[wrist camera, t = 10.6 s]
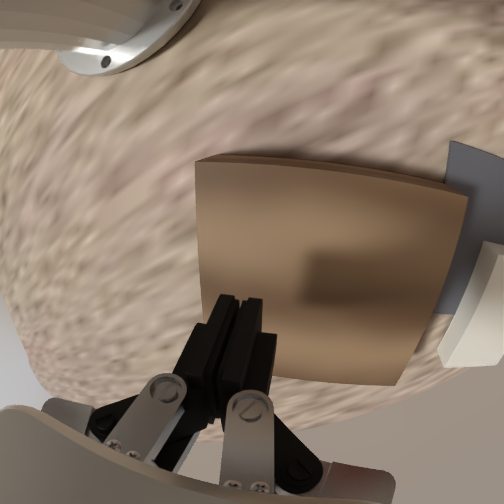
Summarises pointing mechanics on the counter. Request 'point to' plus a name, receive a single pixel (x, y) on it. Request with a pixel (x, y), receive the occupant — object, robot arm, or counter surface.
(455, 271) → the mat
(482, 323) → the white rectangular block
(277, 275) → the brown square plate
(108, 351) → the counter surface
